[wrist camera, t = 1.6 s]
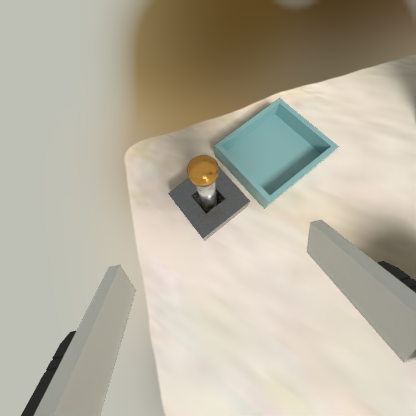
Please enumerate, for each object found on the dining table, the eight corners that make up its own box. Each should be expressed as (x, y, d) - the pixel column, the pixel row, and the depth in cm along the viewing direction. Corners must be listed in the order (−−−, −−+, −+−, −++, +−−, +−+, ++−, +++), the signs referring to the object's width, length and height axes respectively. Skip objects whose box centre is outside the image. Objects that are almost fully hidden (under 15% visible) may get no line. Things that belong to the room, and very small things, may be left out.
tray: (274, 112, 41) (279, 97, 37) (326, 157, 37) (338, 146, 34) (215, 155, 39) (214, 145, 35) (264, 208, 35) (269, 203, 31)
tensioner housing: (213, 169, 38) (212, 160, 35) (246, 206, 36) (250, 201, 32) (173, 199, 37) (168, 193, 33) (204, 240, 34) (203, 238, 31)
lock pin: (211, 190, 37) (205, 149, 23) (222, 204, 36) (224, 170, 22) (196, 202, 37) (180, 167, 22) (207, 216, 36) (199, 190, 21)
